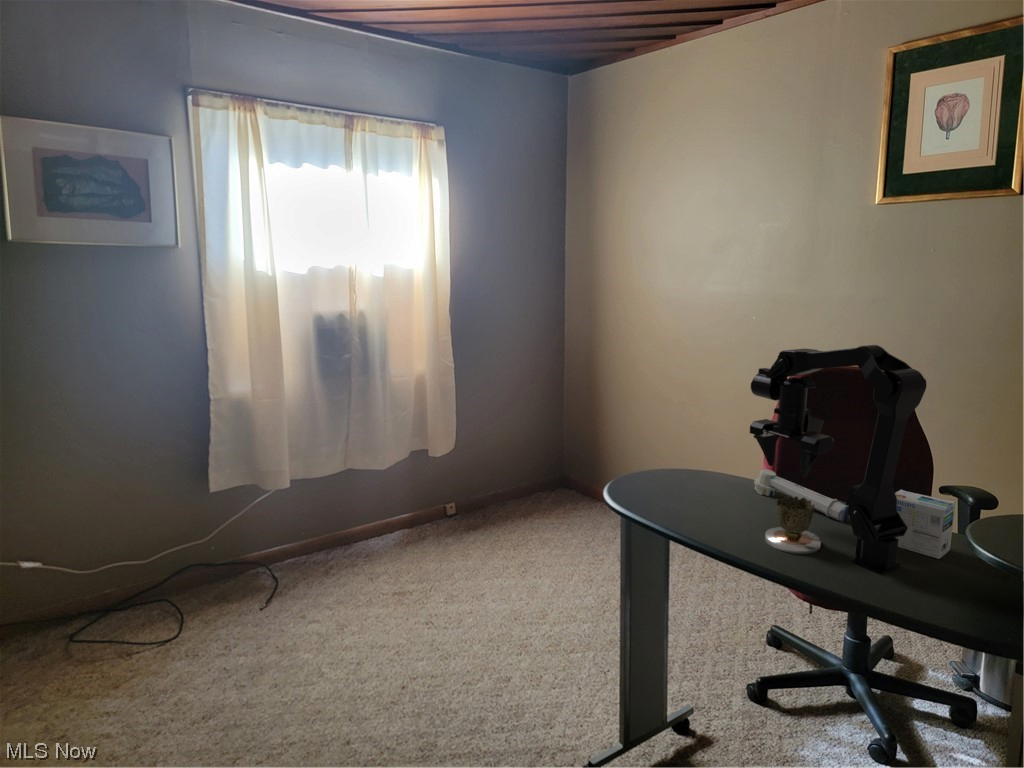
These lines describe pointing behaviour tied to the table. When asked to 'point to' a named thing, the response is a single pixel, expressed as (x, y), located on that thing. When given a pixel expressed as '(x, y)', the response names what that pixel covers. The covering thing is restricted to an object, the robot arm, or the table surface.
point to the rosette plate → (792, 541)
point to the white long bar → (800, 494)
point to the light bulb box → (925, 523)
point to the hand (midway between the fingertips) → (787, 471)
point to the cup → (794, 515)
